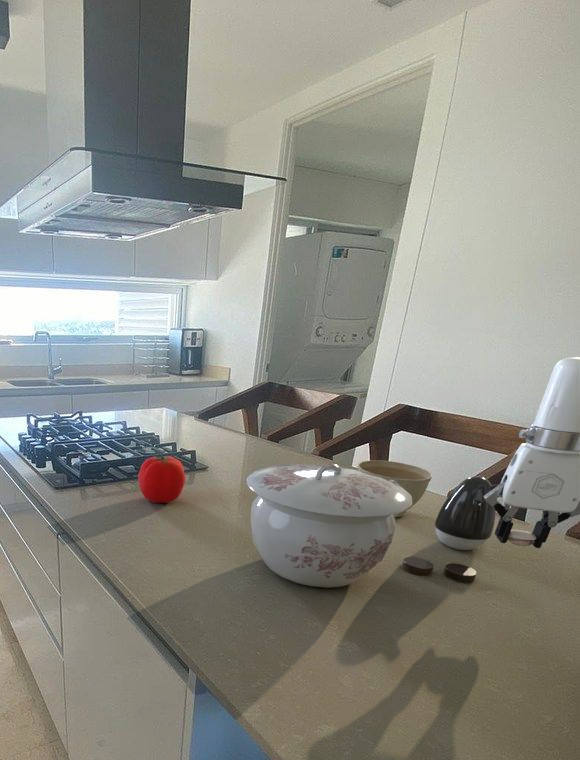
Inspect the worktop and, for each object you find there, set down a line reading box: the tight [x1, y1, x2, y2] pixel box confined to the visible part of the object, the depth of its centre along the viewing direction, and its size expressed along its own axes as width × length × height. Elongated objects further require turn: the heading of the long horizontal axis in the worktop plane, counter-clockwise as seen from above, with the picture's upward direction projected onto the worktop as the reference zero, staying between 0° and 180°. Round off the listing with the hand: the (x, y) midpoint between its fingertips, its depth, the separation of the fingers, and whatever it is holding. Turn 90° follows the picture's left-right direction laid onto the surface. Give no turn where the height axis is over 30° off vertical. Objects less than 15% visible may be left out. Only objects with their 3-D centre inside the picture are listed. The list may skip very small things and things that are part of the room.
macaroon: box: [507, 529, 536, 547], centre depth 85 cm, size 4×5×2 cm
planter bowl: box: [357, 460, 433, 518], centre depth 119 cm, size 16×16×11 cm
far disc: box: [401, 556, 434, 577], centre depth 93 cm, size 5×5×2 cm
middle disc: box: [442, 562, 477, 584], centre depth 91 cm, size 5×5×2 cm
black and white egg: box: [434, 475, 500, 551], centre depth 101 cm, size 10×10×15 cm
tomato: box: [137, 454, 187, 504], centre depth 124 cm, size 12×13×12 cm
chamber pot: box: [246, 463, 413, 589], centre depth 88 cm, size 28×28×21 cm
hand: (517, 541), depth 85 cm, fingers closed on macaroon, 4 cm apart
